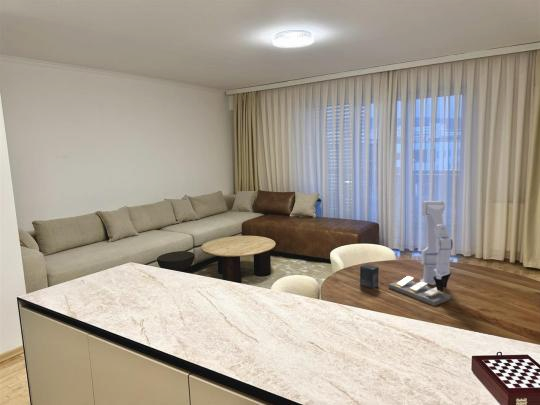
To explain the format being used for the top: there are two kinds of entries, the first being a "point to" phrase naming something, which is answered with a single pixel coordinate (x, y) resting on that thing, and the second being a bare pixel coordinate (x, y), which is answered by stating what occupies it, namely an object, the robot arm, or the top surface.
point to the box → (369, 275)
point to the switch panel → (421, 293)
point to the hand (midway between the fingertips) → (441, 289)
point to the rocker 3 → (432, 292)
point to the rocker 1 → (405, 281)
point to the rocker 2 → (418, 286)
